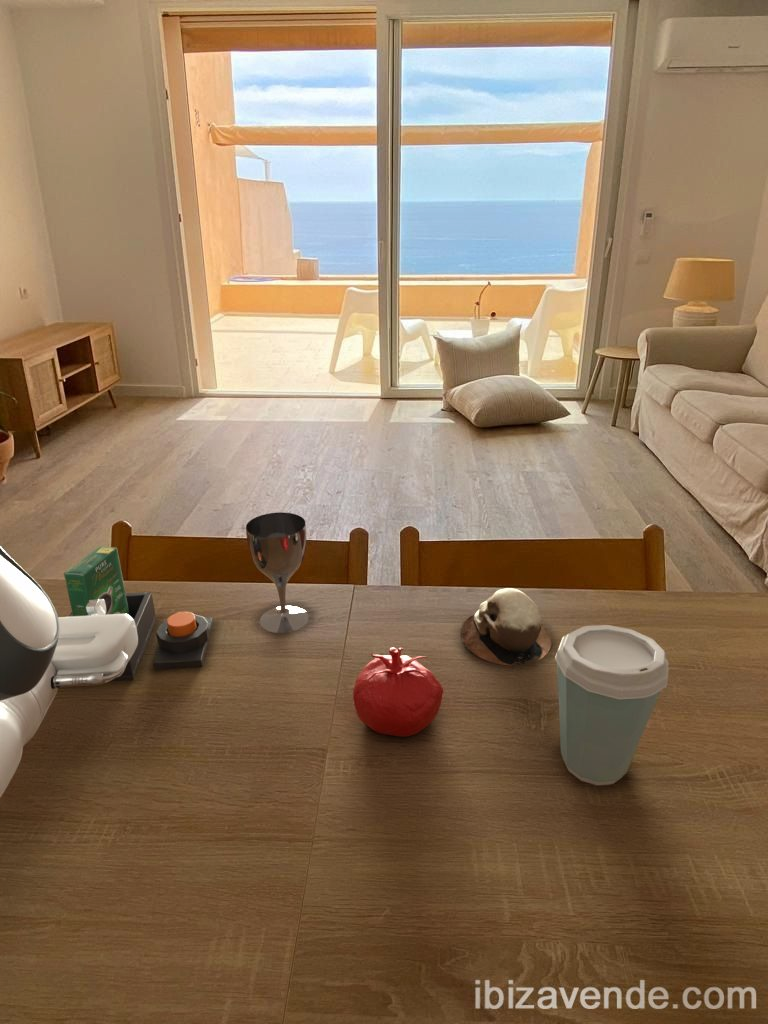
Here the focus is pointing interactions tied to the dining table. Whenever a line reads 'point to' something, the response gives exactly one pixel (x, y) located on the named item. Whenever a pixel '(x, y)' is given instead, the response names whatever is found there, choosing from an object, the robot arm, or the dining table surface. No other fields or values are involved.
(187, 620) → the button
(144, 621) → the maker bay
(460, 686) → the dining table surface
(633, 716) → the disposable coffee cup
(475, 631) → the skull
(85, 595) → the coffee box
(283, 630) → the wine glass
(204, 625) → the panel
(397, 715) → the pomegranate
